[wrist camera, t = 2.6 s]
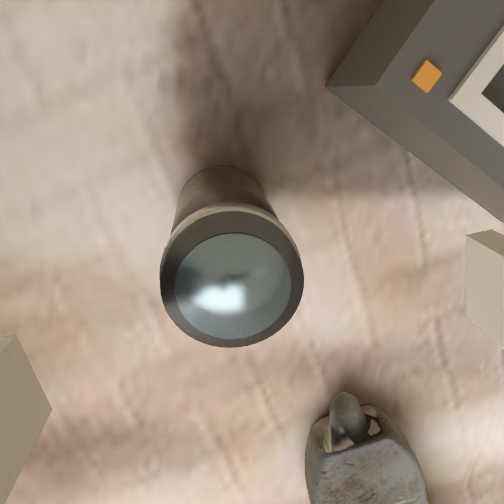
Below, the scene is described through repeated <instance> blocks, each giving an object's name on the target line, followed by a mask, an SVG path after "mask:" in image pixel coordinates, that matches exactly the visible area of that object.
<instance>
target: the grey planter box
mask: <svg viewBox="0 0 504 504" xmlns="http://www.w3.org/2000/svg"><path fill="white" fill-rule="evenodd" d="M325 87H326V88H327V89H329V90H330V91H331V92H332V93H334V94H335V95H336V96H338V97H339V98H340V99H342V100H343V101H344V102H346V103H347V104H348V105H349V106H351V107H352V108H353V109H355V110H356V111H357V112H359V113H360V114H361V115H363V116H364V117H365V118H366V119H368V120H369V121H370V122H372V123H373V124H374V125H376V126H377V127H378V128H380V129H381V130H382V131H383V132H385V133H386V134H387V135H389V136H390V137H391V138H393V139H394V140H395V141H397V142H398V143H399V144H400V145H402V146H403V147H404V148H406V149H407V150H408V151H410V152H411V153H412V154H414V155H415V156H416V157H417V158H419V159H420V160H421V161H423V162H424V163H425V164H427V165H428V166H429V167H431V168H432V169H433V170H434V171H436V172H437V173H438V174H440V175H441V176H442V177H444V178H445V179H446V180H448V181H449V182H450V183H451V184H453V185H454V186H455V187H457V188H458V189H459V190H461V191H462V192H463V193H465V194H466V195H467V196H468V197H470V198H471V199H472V200H474V201H475V202H476V203H478V204H479V205H480V206H482V207H483V208H484V209H485V210H487V211H488V212H489V213H491V214H492V215H493V216H495V217H496V218H497V219H499V220H500V221H501V222H504V0H382V2H381V3H380V5H379V6H378V8H377V9H376V11H375V12H374V14H373V15H372V17H371V18H370V20H369V21H368V23H367V24H366V26H365V27H364V29H363V30H362V32H361V33H360V35H359V36H358V38H357V39H356V41H355V42H354V44H353V45H352V47H351V48H350V50H349V51H348V53H347V54H346V56H345V57H344V59H343V60H342V62H341V63H340V65H339V66H338V68H337V69H336V71H335V72H334V74H333V75H332V77H331V79H330V80H329V82H328V83H327V85H326V86H325Z"/></svg>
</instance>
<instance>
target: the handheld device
mask: <svg viewBox="0 0 504 504" xmlns="http://www.w3.org/2000/svg"><path fill="white" fill-rule="evenodd" d="M329 413H330V415H329V416H326V417H323V418H321V419H319V420H318V421H317V422H316V423H315V424H314V425H313V426H312V428H311V430H310V433H309V437H308V441H307V446H306V453H305V476H306V483H307V488H308V493H309V498H310V502H311V504H428V499H427V494H426V488H425V483H424V479H423V475H422V471H421V468H420V465H419V463H418V460H417V458H416V456H415V454H414V453H413V451H412V449H411V447H410V445H409V444H408V442H407V440H406V438H405V437H404V435H403V434H402V432H401V431H400V429H399V428H398V427H397V425H396V424H395V423H394V422H393V421H392V419H391V418H390V417H389V416H388V415H387V414H386V413H385V412H384V411H383V410H382V409H381V408H379V407H377V406H374V405H362V406H360V404H359V402H358V400H357V398H356V397H355V396H354V395H352V394H350V393H347V392H340V393H338V394H336V396H335V397H334V398H333V399H332V402H331V405H330V411H329Z"/></svg>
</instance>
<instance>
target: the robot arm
mask: <svg viewBox="0 0 504 504" xmlns="http://www.w3.org/2000/svg"><path fill="white" fill-rule="evenodd" d="M466 317H467V318H468V319H469V320H470V321H471V322H472V323H474V324H475V325H476V326H477V327H478V328H479V329H480V330H481V331H483V332H484V333H485V334H486V335H487V336H488V337H489V338H490V339H491V340H493V341H494V342H495V343H496V344H497V345H498V346H499V347H500V348H502V349H503V350H504V235H502V234H500V233H498V232H496V231H494V230H492V229H491V230H487V231H482V232H478V233H473V234H469V235H466ZM51 411H52V407H51V405H50V403H49V401H48V399H47V397H46V395H45V393H44V391H43V389H42V387H41V385H40V383H39V381H38V379H37V377H36V375H35V373H34V371H33V369H32V367H31V365H30V363H29V360H28V358H27V356H26V354H25V352H24V350H23V348H22V346H21V344H20V342H19V340H18V338H17V336H16V335H12V336H7V337H2V338H0V504H5V502H6V500H7V498H8V496H9V494H10V492H11V490H12V488H13V486H14V484H15V482H16V480H17V478H18V476H19V474H20V472H21V470H22V468H23V466H24V464H25V462H26V460H27V458H28V456H29V454H30V452H31V450H32V448H33V446H34V444H35V442H36V440H37V438H38V436H39V435H40V433H41V431H42V429H43V427H44V425H45V423H46V421H47V419H48V417H49V415H50V413H51Z"/></svg>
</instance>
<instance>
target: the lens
mask: <svg viewBox="0 0 504 504" xmlns="http://www.w3.org/2000/svg"><path fill="white" fill-rule="evenodd" d="M303 288H304V274H303V268H302V264H301V259H300V255H299V252H298V249H297V247H296V244H295V243H294V241H293V239H292V238H291V236H290V234H289V232H288V231H287V229H286V228H285V227H284V226H283V224H282V223H281V222H280V221H279V220H278V218H277V216H276V214H275V212H274V211H273V209H272V207H271V205H270V203H269V202H268V200H267V198H266V196H265V194H264V193H263V191H262V189H261V187H260V186H259V184H258V183H257V182H256V180H255V179H254V178H253V177H252V176H250V175H249V174H248V173H246V172H244V171H243V170H241V169H238V168H235V167H231V166H214V167H210V168H206V169H204V170H202V171H200V172H199V173H197V174H196V175H194V176H193V177H192V178H191V179H190V180H189V181H188V182H187V184H186V185H185V186H184V188H183V190H182V192H181V195H180V199H179V203H178V207H177V211H176V215H175V219H174V223H173V227H172V231H171V235H170V237H169V239H168V241H167V244H166V246H165V249H164V252H163V256H162V260H161V265H160V289H161V296H162V300H163V304H164V306H165V309H166V311H167V313H168V314H169V316H170V318H171V319H172V320H173V322H174V323H175V324H176V325H177V326H178V327H179V328H180V329H181V330H182V331H183V332H184V333H186V334H187V335H189V336H190V337H192V338H194V339H195V340H198V341H200V342H202V343H205V344H208V345H212V346H218V347H229V348H231V347H242V346H248V345H251V344H255V343H258V342H260V341H262V340H265V339H266V338H268V337H270V336H272V335H273V334H275V333H276V332H277V331H279V330H280V329H281V328H282V327H283V326H284V325H285V324H286V323H287V322H288V321H289V320H290V319H291V317H292V316H293V314H294V313H295V311H296V309H297V307H298V305H299V303H300V300H301V297H302V293H303Z"/></svg>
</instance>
